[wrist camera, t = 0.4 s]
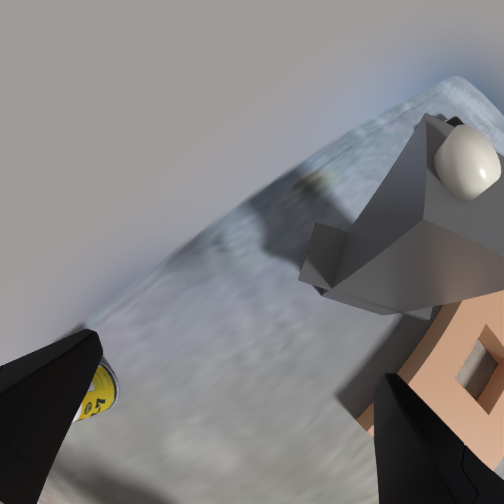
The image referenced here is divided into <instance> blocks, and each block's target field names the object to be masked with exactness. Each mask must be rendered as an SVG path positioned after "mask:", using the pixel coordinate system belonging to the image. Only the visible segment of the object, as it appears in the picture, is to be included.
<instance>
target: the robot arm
mask: <svg viewBox="0 0 504 504" xmlns="http://www.w3.org/2000/svg"><path fill="white" fill-rule="evenodd" d="M102 356H103V348H102V345H101V342H100V339H99V336H98V334H97V332H95V331H93V330H89V329H84V330H82V331H80V332H77V333H75V334H73V335H71V336H68V337H66V338H64V339H61V340H59V341H57V342H55V343H52V344H50V345H48V346H45V347H43V348H41V349H39V350H37V351H34V352H32V353H30V354H28V355H25V356H23V357H20V358H18V359H16V360H13V361H11V362H9V363H7V364H5V365H2V366H0V504H37V502H38V499H39V496H40V494H41V491H42V489H43V486H44V484H45V481H46V478H47V476H48V474H49V471H50V469H51V467H52V464H53V462H54V460H55V458H56V455H57V453H58V451H59V449H60V447H61V444H62V442H63V440H64V438H65V436H66V434H67V432H68V430H69V428H70V426H71V424H72V422H73V419H74V417H75V415H76V414H77V412H78V410H79V408H80V406H81V404H82V402H83V400H84V398H85V396H86V394H87V392H88V390H89V387H90V385H91V383H92V380H93V378H94V375H95V373H96V370H97V368H98V366H99V363H100V361H101V359H102ZM373 408H374V446H375V455H376V465H377V477H378V492H379V504H504V480H503V479H502V478H501V477H499V476H498V475H497V474H496V473H495V472H494V471H492V470H491V469H490V468H489V467H488V466H487V465H486V464H485V463H483V462H482V461H481V460H480V459H479V458H478V457H477V456H476V455H475V454H474V453H473V452H472V451H471V450H470V448H469V447H468V446H467V445H464V442H463V441H462V440H461V439H460V438H459V437H458V436H457V435H456V434H455V433H454V432H453V431H452V430H451V429H450V427H449V426H448V425H447V424H446V423H445V422H444V421H443V420H442V419H441V418H440V417H439V416H438V415H437V414H436V413H435V412H434V411H433V410H432V409H431V408H430V407H429V406H428V405H427V404H426V403H425V402H424V400H423V399H422V398H421V397H420V396H419V395H418V394H417V393H416V392H415V391H414V390H413V389H412V388H411V387H410V386H409V385H408V384H407V383H406V382H405V381H404V380H403V379H402V378H401V377H400V376H399V375H398V374H397V373H384V374H383V375H382V377H381V379H380V381H379V383H378V385H377V386H376V388H375V391H374V394H373Z"/></svg>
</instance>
